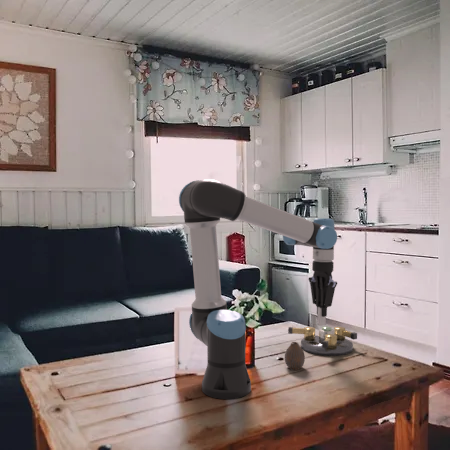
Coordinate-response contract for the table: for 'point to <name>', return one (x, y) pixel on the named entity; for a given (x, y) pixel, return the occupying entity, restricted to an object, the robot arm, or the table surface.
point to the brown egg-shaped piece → (294, 356)
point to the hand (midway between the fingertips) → (321, 324)
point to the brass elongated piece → (344, 334)
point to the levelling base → (316, 348)
